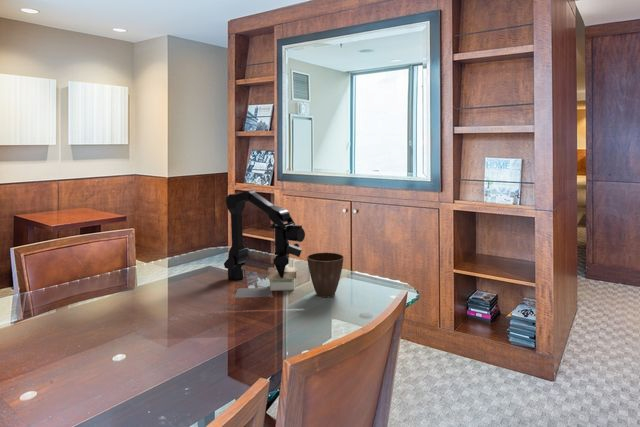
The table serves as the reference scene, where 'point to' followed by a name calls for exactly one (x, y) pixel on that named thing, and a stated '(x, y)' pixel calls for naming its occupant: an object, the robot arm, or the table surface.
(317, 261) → the plant pot
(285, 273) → the lid
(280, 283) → the dish
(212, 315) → the table surface
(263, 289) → the mat
